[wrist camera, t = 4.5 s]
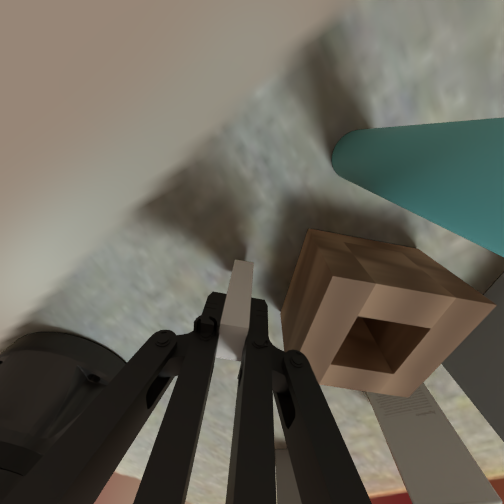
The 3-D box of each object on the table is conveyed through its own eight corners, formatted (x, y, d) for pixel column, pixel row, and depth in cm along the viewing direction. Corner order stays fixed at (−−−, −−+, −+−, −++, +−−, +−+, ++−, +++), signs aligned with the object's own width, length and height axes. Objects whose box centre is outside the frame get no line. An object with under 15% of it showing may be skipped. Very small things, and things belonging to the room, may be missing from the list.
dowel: (325, 174, 15) (484, 266, 4) (341, 125, 13) (640, 78, 3) (366, 183, 15) (619, 291, 4) (387, 134, 14) (833, 124, 3)
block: (280, 313, 21) (287, 379, 15) (308, 228, 17) (332, 276, 11) (368, 327, 21) (408, 397, 16) (418, 248, 17) (497, 305, 11)
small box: (357, 371, 25) (414, 511, 15) (409, 358, 23) (505, 504, 14) (372, 406, 28) (427, 539, 19) (419, 397, 27) (503, 535, 17)
